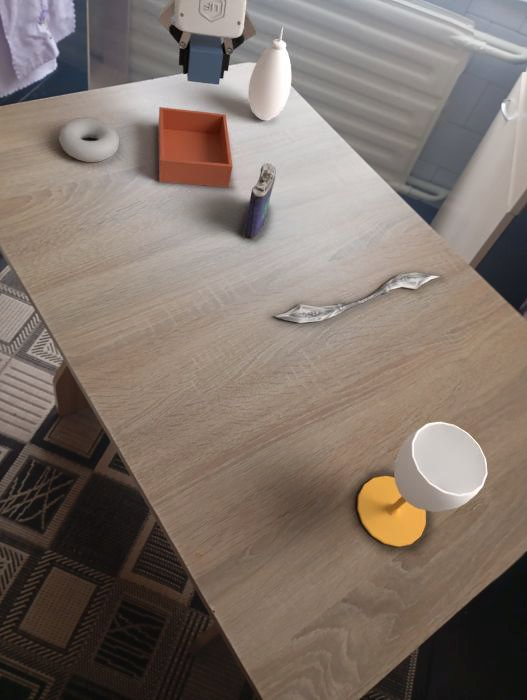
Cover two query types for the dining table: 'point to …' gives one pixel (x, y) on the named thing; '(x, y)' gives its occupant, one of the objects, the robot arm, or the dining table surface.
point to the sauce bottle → (270, 81)
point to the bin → (194, 148)
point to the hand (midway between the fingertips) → (202, 70)
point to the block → (205, 59)
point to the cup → (422, 483)
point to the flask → (259, 202)
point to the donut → (89, 149)
